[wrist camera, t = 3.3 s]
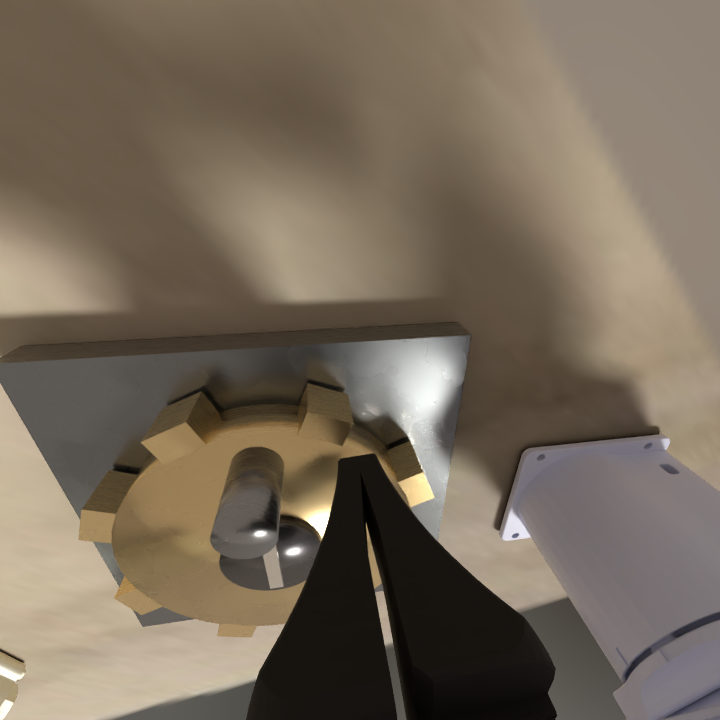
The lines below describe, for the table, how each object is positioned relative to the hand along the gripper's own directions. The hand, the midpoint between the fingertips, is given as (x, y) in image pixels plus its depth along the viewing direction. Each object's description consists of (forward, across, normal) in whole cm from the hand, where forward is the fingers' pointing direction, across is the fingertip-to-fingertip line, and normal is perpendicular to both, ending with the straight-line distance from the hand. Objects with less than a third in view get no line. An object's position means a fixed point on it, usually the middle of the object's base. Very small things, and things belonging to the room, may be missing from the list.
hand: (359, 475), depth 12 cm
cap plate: (+5, +4, +5) cm, 8 cm away
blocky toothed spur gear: (+3, +4, +5) cm, 7 cm away
